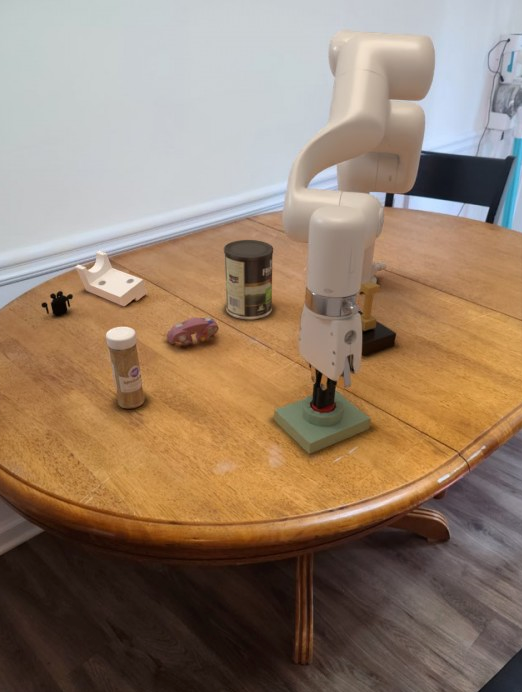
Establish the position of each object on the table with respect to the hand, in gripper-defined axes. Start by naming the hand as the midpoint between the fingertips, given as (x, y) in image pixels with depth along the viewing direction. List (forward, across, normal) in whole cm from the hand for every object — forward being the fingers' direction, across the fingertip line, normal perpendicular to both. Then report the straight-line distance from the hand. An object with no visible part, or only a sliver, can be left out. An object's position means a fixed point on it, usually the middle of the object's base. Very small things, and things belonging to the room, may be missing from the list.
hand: (323, 404), depth 90 cm
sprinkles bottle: (+4, +22, +24) cm, 33 cm away
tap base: (+4, +22, -22) cm, 31 cm away
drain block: (+4, 0, 0) cm, 4 cm away
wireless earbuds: (+4, +60, +25) cm, 65 cm away
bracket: (+4, +64, +12) cm, 65 cm away
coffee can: (+4, +42, -11) cm, 44 cm away
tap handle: (+1, +18, -24) cm, 30 cm away
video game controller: (+4, +35, +6) cm, 36 cm away
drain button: (+2, 0, 0) cm, 2 cm away
